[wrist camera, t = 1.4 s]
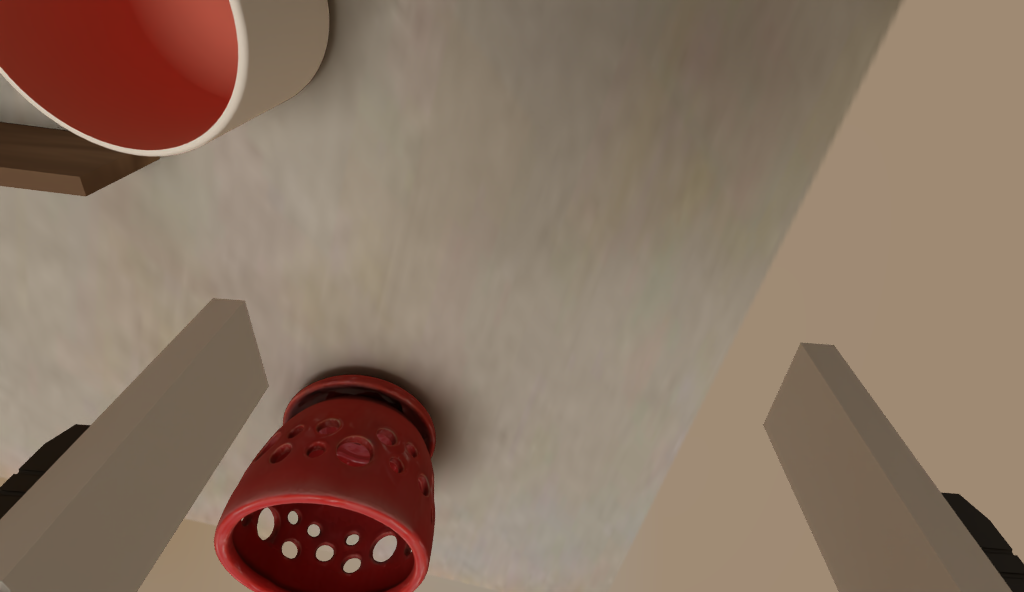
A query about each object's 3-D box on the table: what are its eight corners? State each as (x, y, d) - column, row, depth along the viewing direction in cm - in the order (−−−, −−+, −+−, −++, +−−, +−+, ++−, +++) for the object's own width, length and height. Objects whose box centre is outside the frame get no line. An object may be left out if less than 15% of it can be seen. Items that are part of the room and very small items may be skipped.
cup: (95, -116, 24) (-142, -161, 16) (305, -139, 23) (175, -200, 15) (184, 108, 29) (43, 166, 21) (357, 95, 29) (283, 148, 20)
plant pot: (309, 474, 46) (246, 618, 36) (269, 356, 39) (176, 494, 29) (458, 476, 45) (436, 623, 35) (444, 357, 38) (412, 497, 28)
